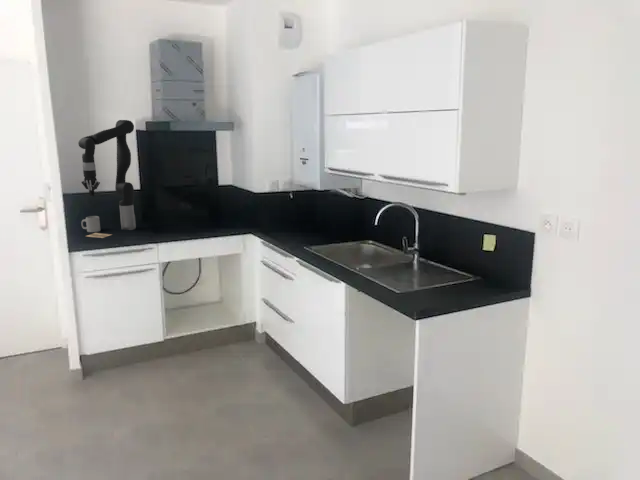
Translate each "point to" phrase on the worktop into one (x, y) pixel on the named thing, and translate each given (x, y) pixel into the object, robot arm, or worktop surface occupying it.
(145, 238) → the worktop surface
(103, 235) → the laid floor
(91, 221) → the mug
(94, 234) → the plank
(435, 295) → the worktop surface
